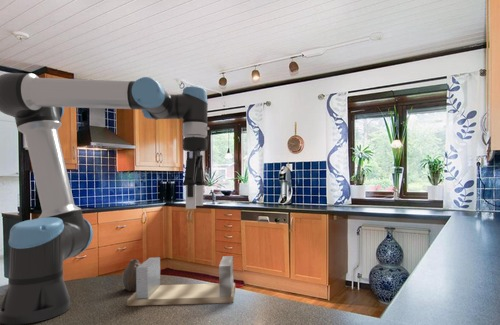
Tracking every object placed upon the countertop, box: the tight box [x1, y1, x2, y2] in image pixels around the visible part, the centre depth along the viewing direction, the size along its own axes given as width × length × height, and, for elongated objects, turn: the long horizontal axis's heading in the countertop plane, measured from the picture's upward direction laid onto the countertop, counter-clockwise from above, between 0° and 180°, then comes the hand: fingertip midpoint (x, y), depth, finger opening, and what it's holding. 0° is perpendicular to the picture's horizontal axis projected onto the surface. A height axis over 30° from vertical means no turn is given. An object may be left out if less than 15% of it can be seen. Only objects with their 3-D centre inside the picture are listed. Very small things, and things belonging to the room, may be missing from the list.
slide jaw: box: [135, 256, 161, 298], centre depth 93 cm, size 3×12×8 cm, turn 0°
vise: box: [126, 255, 236, 307], centre depth 93 cm, size 28×12×10 cm, turn 90°
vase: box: [122, 258, 142, 292], centre depth 101 cm, size 7×7×9 cm
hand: (195, 207), depth 99 cm, fingers open, 13 cm apart
